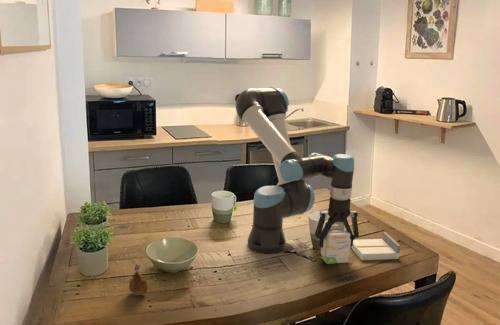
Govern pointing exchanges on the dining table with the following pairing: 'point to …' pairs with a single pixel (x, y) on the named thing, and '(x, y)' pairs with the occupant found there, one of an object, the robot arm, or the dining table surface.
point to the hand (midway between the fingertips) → (334, 254)
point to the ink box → (337, 244)
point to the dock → (377, 248)
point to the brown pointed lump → (138, 283)
